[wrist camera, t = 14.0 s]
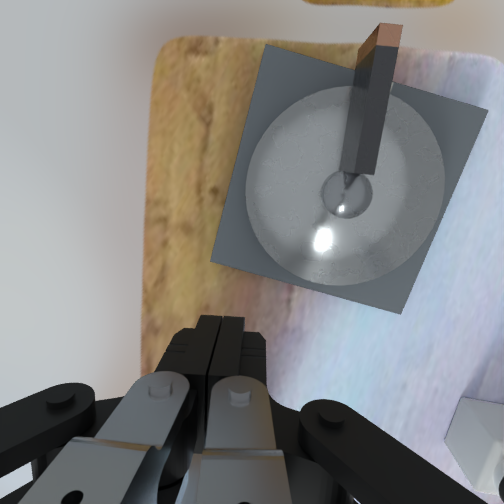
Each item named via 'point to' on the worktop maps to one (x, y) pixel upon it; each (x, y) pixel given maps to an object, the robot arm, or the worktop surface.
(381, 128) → the rotary knob
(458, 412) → the grey handled container
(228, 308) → the worktop surface
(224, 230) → the plinth
